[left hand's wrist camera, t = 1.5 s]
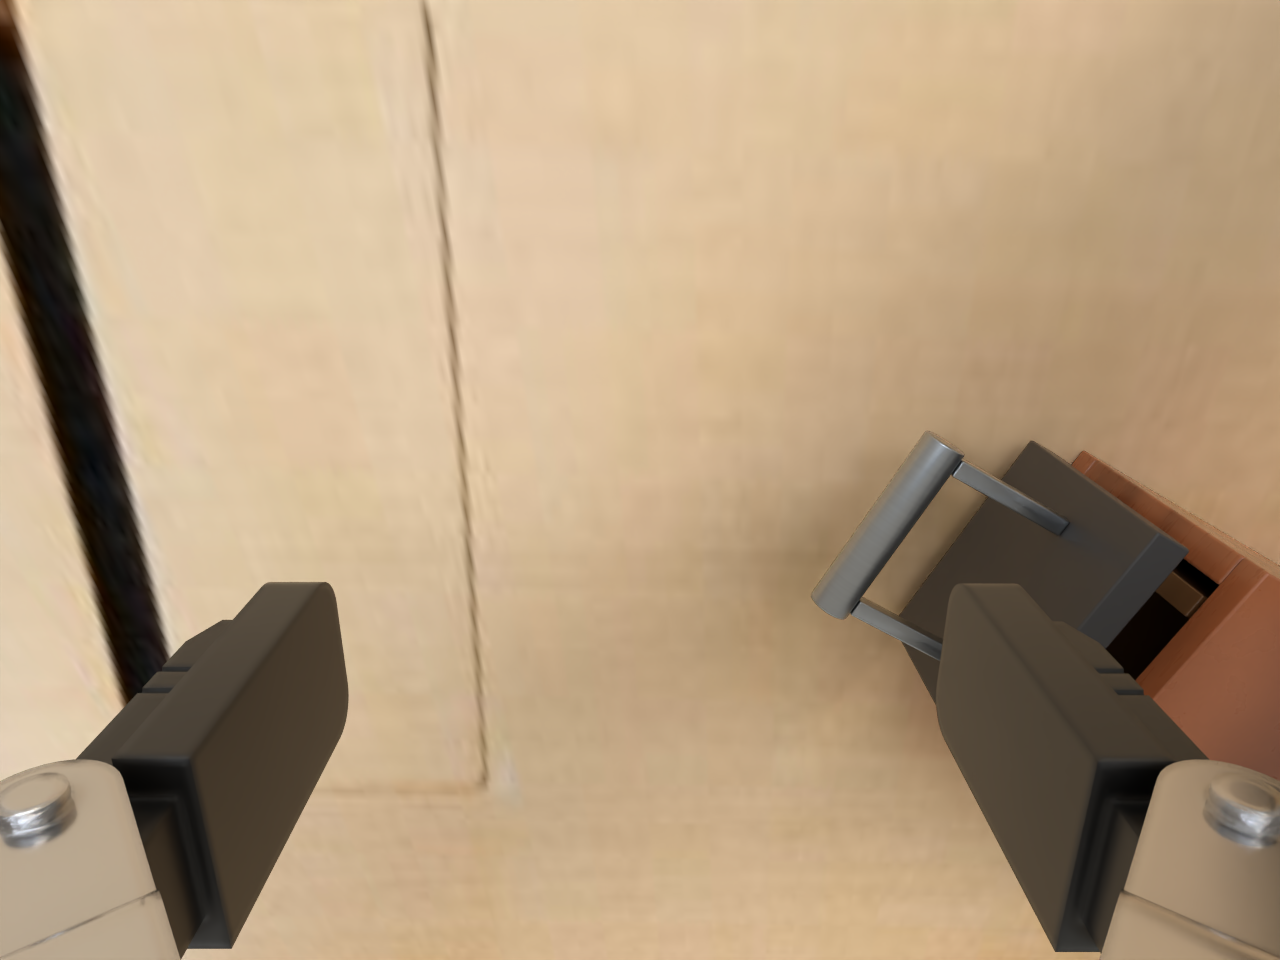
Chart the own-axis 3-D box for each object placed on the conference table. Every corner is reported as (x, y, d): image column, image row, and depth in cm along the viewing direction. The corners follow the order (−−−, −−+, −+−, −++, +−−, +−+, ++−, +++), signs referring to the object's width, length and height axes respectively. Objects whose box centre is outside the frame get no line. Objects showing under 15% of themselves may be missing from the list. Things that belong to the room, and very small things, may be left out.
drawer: (771, 562, 34) (812, 686, 26) (905, 365, 31) (996, 437, 23) (1242, 807, 38) (1402, 979, 30) (1396, 653, 36) (1616, 797, 28)
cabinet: (927, 649, 37) (1034, 832, 27) (1082, 449, 34) (1268, 572, 24) (1283, 834, 40) (1495, 1057, 30) (1454, 668, 37) (1753, 856, 27)
